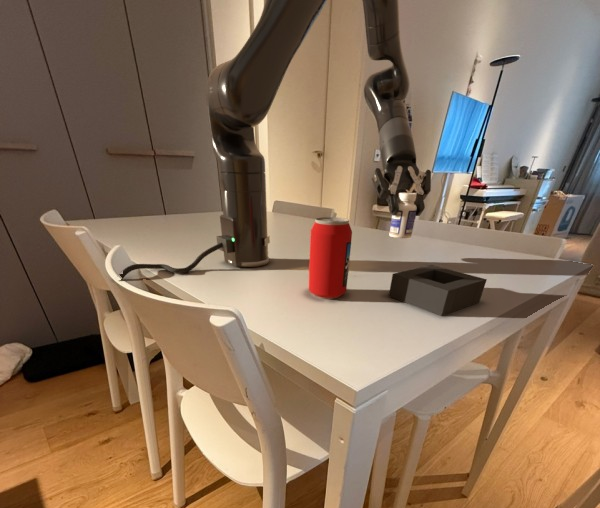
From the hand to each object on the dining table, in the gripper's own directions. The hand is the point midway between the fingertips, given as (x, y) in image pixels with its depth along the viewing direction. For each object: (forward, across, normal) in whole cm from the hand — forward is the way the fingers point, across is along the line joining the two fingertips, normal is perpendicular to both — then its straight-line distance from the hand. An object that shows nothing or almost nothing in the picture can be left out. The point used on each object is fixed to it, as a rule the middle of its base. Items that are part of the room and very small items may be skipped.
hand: (407, 212), depth 76 cm
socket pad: (+27, -6, -12) cm, 30 cm away
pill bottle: (+3, 0, +5) cm, 6 cm away
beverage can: (+23, -24, -8) cm, 34 cm away
